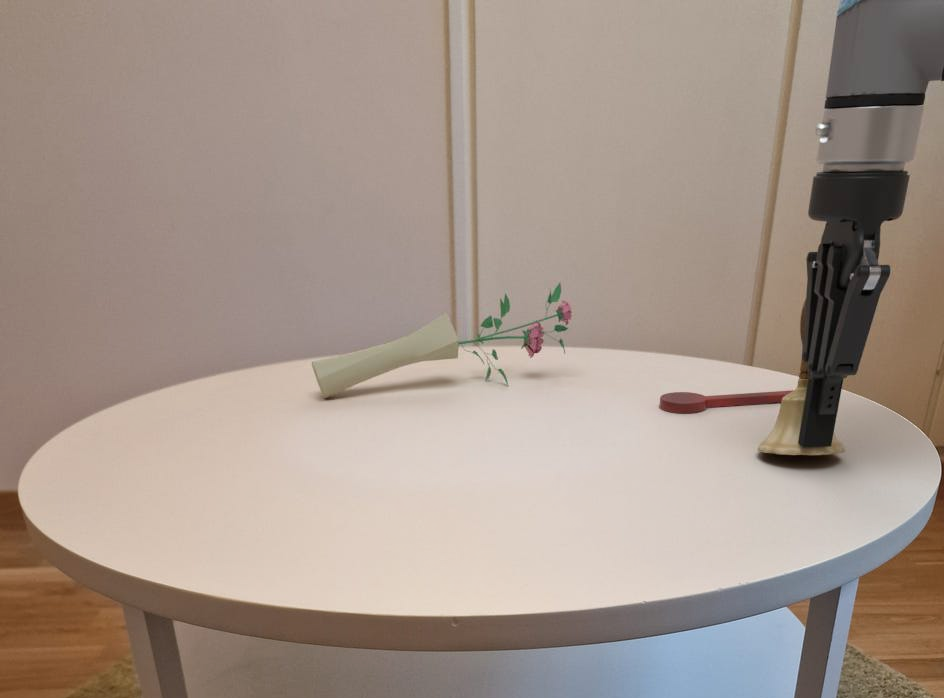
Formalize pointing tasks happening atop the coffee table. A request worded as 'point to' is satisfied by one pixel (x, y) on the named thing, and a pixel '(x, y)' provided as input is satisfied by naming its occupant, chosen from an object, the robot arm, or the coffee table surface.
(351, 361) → the flower vase
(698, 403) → the spoon
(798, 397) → the hand bell
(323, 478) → the coffee table surface
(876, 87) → the robot arm
